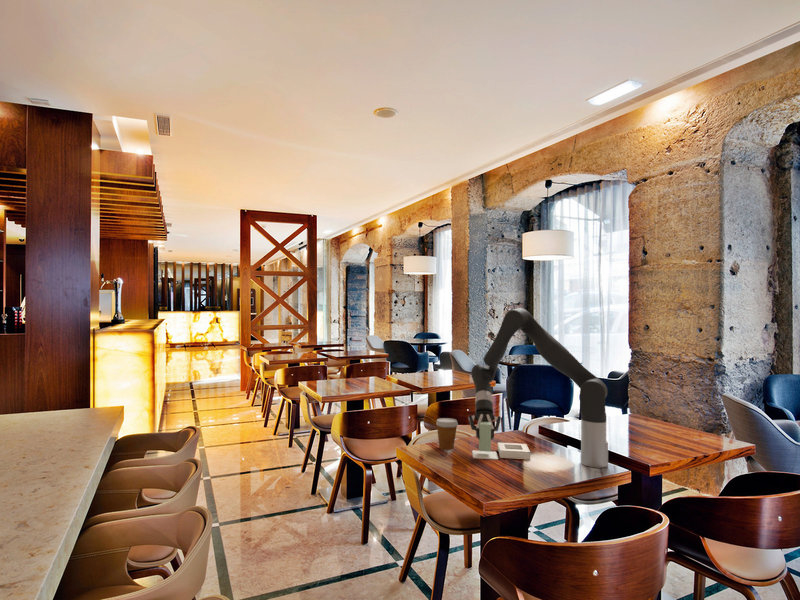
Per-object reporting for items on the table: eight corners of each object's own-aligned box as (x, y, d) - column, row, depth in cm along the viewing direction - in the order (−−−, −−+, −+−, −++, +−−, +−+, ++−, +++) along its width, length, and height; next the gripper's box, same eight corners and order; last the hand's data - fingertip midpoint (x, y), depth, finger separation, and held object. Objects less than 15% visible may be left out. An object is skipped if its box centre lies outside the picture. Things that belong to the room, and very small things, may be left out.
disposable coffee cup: (447, 452, 195) (447, 423, 196) (431, 447, 202) (431, 419, 203) (462, 448, 202) (462, 420, 202) (445, 443, 209) (446, 416, 209)
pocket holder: (525, 450, 200) (526, 443, 200) (530, 459, 188) (530, 451, 188) (497, 449, 201) (497, 442, 201) (500, 457, 189) (500, 450, 189)
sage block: (489, 448, 194) (490, 422, 195) (490, 451, 190) (491, 424, 190) (478, 447, 195) (479, 421, 195) (479, 451, 190) (479, 424, 191)
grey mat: (496, 452, 196) (496, 451, 196) (498, 459, 186) (498, 458, 186) (472, 451, 198) (472, 450, 198) (473, 458, 188) (473, 457, 188)
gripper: (467, 397, 201) (467, 432, 189) (501, 399, 199) (503, 434, 187) (467, 407, 206) (467, 442, 194) (500, 409, 204) (502, 444, 192)
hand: (485, 438), depth 190 cm, fingers closed on sage block, 4 cm apart
